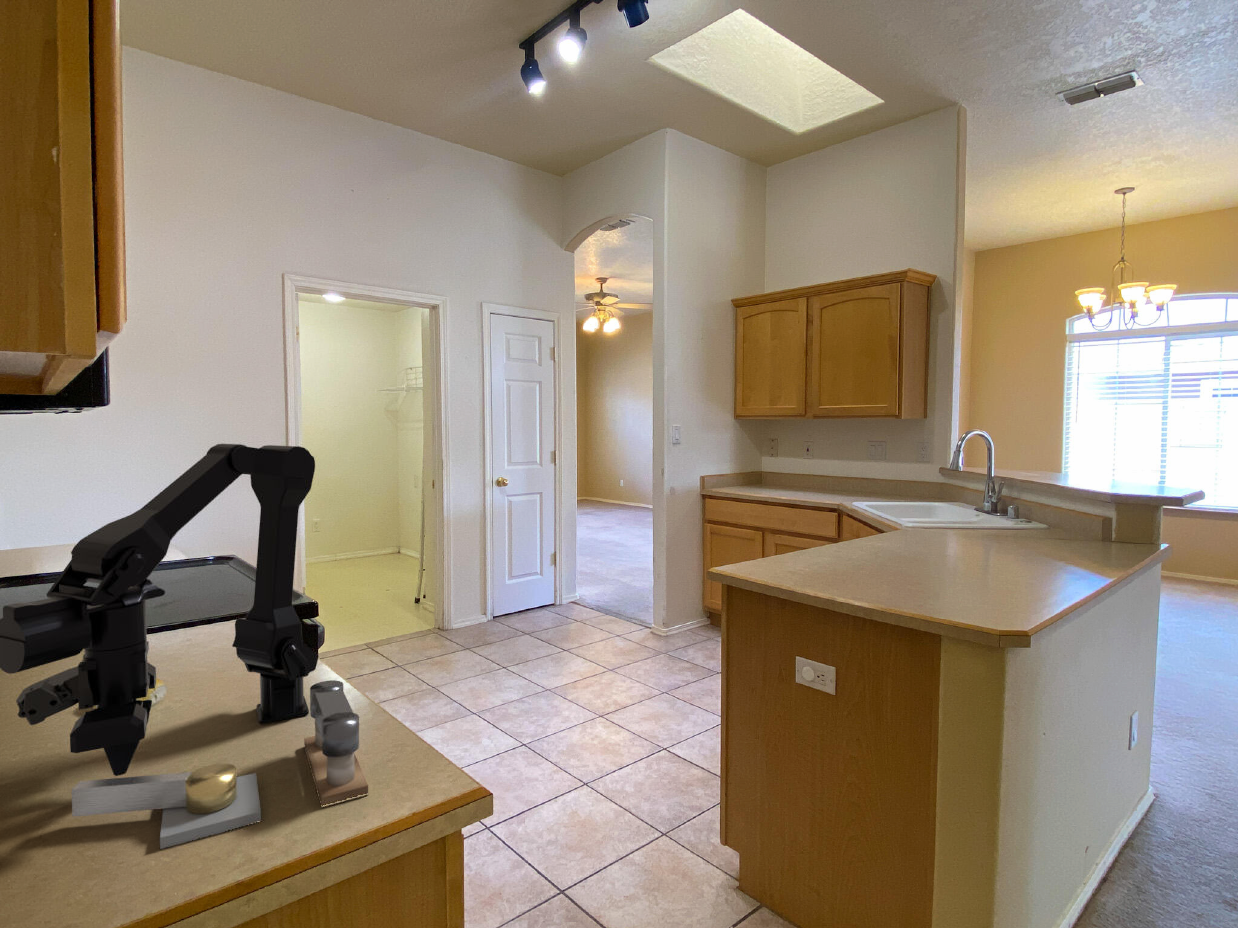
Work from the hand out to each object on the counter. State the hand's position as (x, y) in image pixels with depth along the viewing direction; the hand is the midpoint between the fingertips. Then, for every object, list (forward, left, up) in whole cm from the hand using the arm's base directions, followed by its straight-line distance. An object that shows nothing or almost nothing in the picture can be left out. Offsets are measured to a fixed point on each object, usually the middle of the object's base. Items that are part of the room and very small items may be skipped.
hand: (120, 773), depth 77 cm
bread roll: (-28, -1, -2) cm, 29 cm away
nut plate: (+10, +9, -2) cm, 14 cm away
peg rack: (+7, +22, -2) cm, 23 cm away
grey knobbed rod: (+7, +22, +3) cm, 23 cm away
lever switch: (+8, +4, -1) cm, 9 cm away
